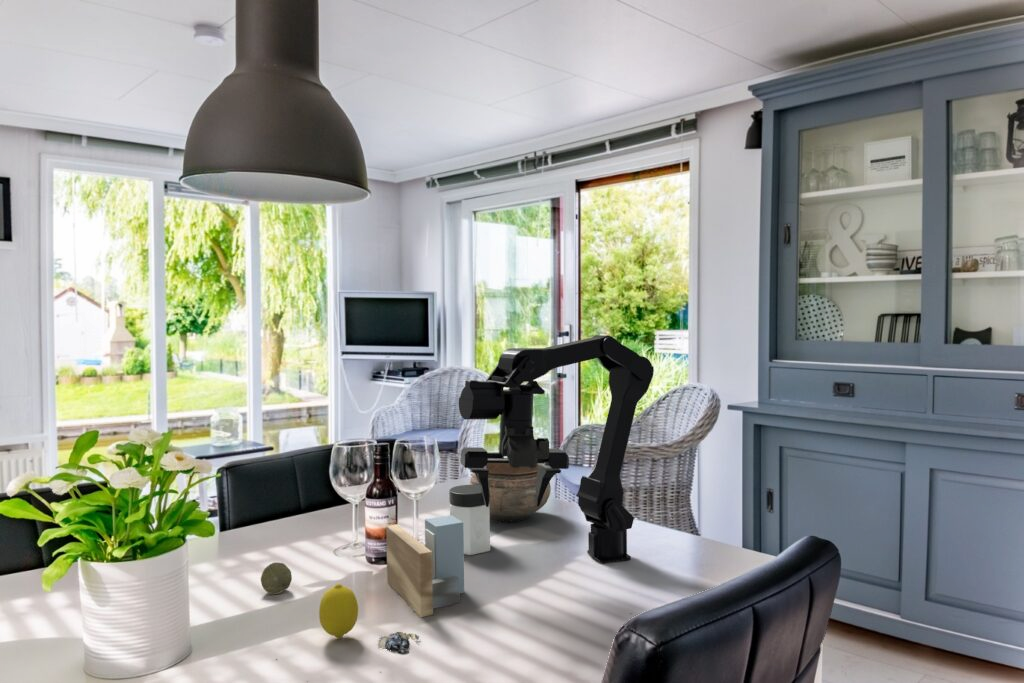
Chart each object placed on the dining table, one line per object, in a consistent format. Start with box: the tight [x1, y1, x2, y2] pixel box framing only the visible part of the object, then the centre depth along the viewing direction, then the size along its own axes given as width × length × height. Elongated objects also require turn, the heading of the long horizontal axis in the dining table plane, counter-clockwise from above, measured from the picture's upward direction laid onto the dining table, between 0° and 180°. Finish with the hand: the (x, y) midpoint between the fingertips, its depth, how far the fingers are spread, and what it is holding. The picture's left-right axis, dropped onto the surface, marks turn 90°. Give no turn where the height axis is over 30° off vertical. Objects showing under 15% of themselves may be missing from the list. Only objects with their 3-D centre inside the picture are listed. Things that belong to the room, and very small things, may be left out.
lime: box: [260, 561, 293, 595], centre depth 123 cm, size 4×5×5 cm
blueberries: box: [377, 631, 421, 655], centre depth 102 cm, size 7×8×2 cm
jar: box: [448, 484, 491, 556], centre depth 144 cm, size 9×8×12 cm
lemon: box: [318, 583, 359, 639], centre depth 104 cm, size 6×6×8 cm
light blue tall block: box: [424, 514, 465, 594], centre depth 122 cm, size 5×5×12 cm
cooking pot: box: [468, 463, 552, 523], centre depth 165 cm, size 25×19×12 cm
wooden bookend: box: [385, 523, 460, 618], centre depth 120 cm, size 8×17×10 cm, turn 27°
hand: (512, 506), depth 128 cm, fingers open, 9 cm apart
